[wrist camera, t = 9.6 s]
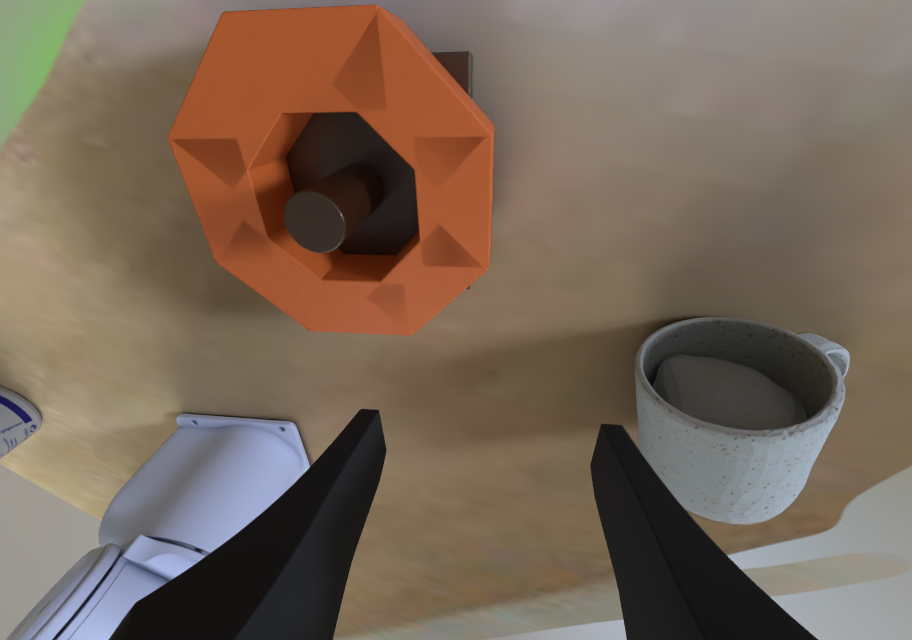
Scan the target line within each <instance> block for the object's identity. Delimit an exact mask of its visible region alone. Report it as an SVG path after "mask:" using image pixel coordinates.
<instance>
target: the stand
mask: <svg viewBox="0 0 912 640" xmlns="http://www.w3.org/2000/svg"><path fill="white" fill-rule="evenodd" d="M432 54H433V56H434V57H435V58H436V59H437V60H438V61H439V62H440V64H441V65H442V66H443V67H444V68H445V69H446V70H447V72H448V73H449V74H450V75H451V76H452V77H453V78H454V79H455V81H456V82H457V83H458V84H459V85H460V86H461V87H462V89H463V90H464V91H465V92H466V93H467V94H468V95H469V97H470V98H471V99H472V54H471V53H470V52H433V53H432ZM286 160H287V164H288V169H289V173H290V177H291V181H292V185H293V189H294V193H295V194H294V195H293V196H291V197H290V198H289V200H288V201H287V203H286V205H285V209H284V222H285V225H286V228H287V230H288V232H289V234H290V235H291V237H292V238H293V239H294V240H295V241H296V242H297V243H298V244H299V245H300V246H302V247H303V248H305V249H307V250H309V251H312V252H316V253H328V252H331V251H334V250H336V249H337V248H338V249H340V250H341V251H342V252H343V253H344V254H360V255H397V254H398V253H399V252H400V250H401V249H402V248H403V247H404V246H405V245H406V244H407V243H408V242H409V241H410V240H411V239H412V238H413V237H414V236H415V235H416V234H417V233H418V232H419V225H418V212H417V198H416V185H415V172H414V169H413V168H412V167H411V166H410V165H409V164H408V163H407V162H406V161H405V160H404V159H403V158H402V157H401V156H400V155H399V154H398V153H397V152H396V151H395V150H394V149H393V148H392V147H391V146H390V145H389V144H388V143H387V142H386V141H385V140H384V139H383V138H382V137H381V136H380V135H379V134H378V133H377V132H376V131H375V130H374V129H373V128H372V127H371V126H370V125H369V124H368V123H367V122H366V121H365V120H364V119H363V118H362V117H361V116H360V115H359V114H358V113H357V112H333V113H313V115H312V116H311V118H310V119H309V121H308V123H307V124H306V126H305V127H304V129H303V130H302V132H301V134H300V135H299V137H298V138H297V140H296V142H295V143H294V145H293V146H292V148H291V149H290V151H289V153H288V154H287V156H286ZM469 288H470V285H469V286H468V287H467V288H466V289H469Z"/></svg>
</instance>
